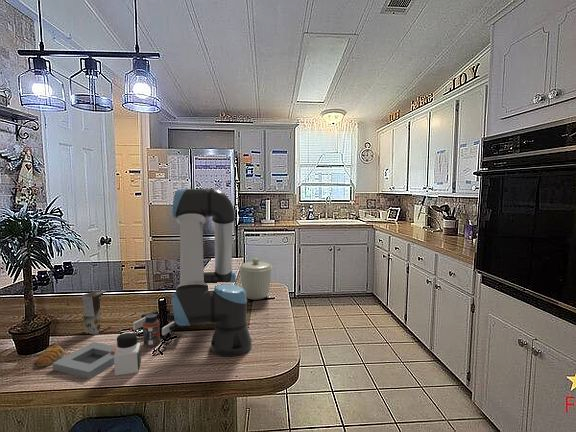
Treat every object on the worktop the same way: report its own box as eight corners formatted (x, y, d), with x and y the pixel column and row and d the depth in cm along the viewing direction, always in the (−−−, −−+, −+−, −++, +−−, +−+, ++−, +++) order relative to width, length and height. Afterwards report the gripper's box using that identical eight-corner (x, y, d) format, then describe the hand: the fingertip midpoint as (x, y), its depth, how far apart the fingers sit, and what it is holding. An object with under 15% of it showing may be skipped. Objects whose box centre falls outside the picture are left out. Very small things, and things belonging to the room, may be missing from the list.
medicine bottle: (138, 372, 114) (137, 337, 113) (114, 376, 112) (112, 340, 111) (141, 361, 121) (139, 328, 119) (118, 365, 119) (116, 331, 117)
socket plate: (128, 355, 125) (127, 346, 125) (89, 379, 110) (88, 369, 110) (94, 348, 130) (93, 339, 130) (53, 370, 115) (52, 360, 115)
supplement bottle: (154, 348, 130) (153, 319, 129) (140, 346, 132) (138, 317, 130) (163, 341, 136) (162, 313, 135) (149, 339, 137) (148, 312, 136)
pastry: (52, 367, 117) (51, 356, 117) (30, 369, 116) (29, 358, 116) (66, 353, 127) (65, 343, 126) (45, 355, 126) (45, 345, 125)
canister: (272, 302, 179) (272, 262, 177) (237, 302, 179) (236, 262, 177) (273, 291, 197) (273, 254, 195) (241, 291, 197) (240, 254, 195)
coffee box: (96, 335, 141) (94, 296, 140) (83, 333, 143) (81, 295, 141) (113, 326, 150) (111, 289, 148) (101, 324, 152) (99, 288, 150)
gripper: (207, 321, 148) (175, 343, 128) (159, 314, 156) (122, 333, 137) (207, 304, 147) (175, 324, 127) (159, 297, 156) (121, 315, 136)
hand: (148, 329), depth 132 cm, fingers open, 13 cm apart
